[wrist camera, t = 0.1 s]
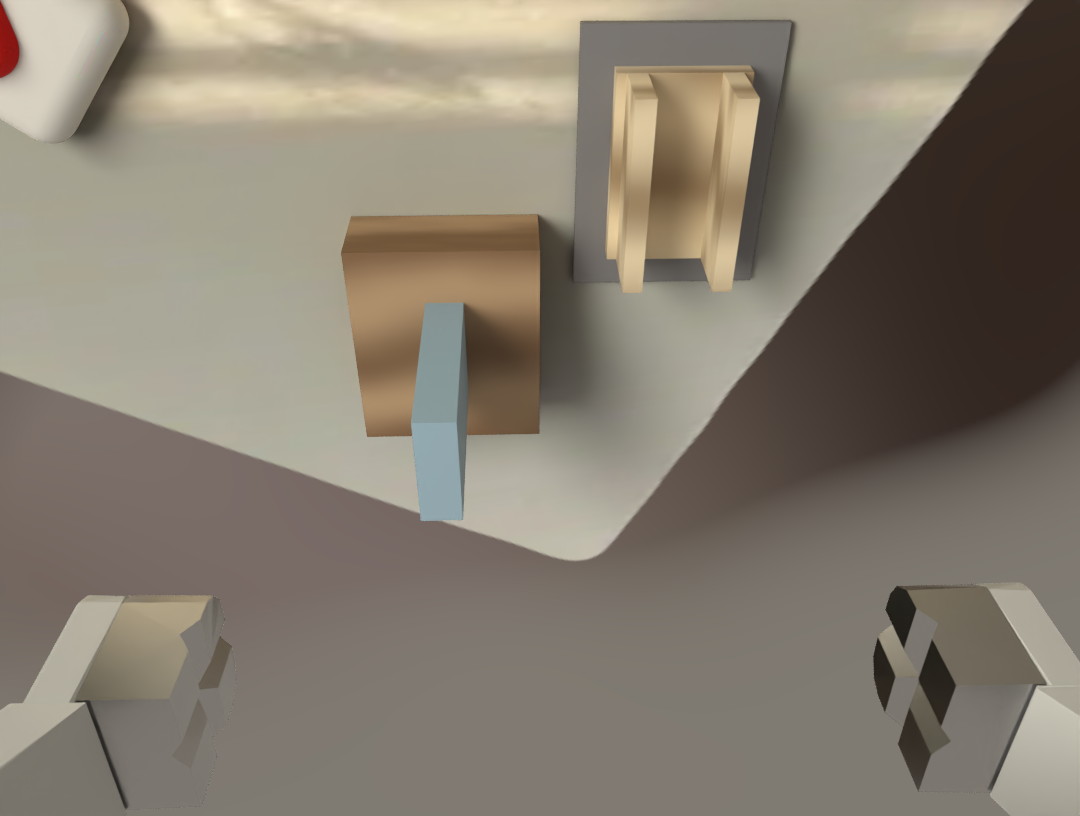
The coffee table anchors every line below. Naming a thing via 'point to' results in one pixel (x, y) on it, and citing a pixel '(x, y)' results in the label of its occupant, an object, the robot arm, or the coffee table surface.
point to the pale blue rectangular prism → (441, 413)
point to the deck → (446, 277)
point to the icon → (55, 61)
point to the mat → (597, 61)
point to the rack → (679, 167)
